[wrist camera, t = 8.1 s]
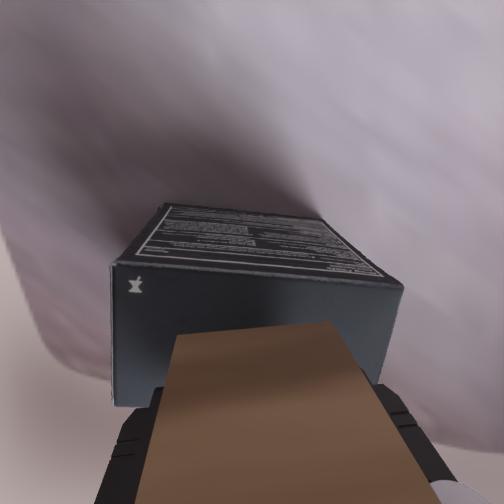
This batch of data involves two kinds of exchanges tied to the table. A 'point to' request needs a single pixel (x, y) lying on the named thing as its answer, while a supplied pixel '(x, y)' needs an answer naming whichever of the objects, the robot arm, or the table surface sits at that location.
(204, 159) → the table surface
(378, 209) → the table surface
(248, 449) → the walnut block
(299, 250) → the small box
